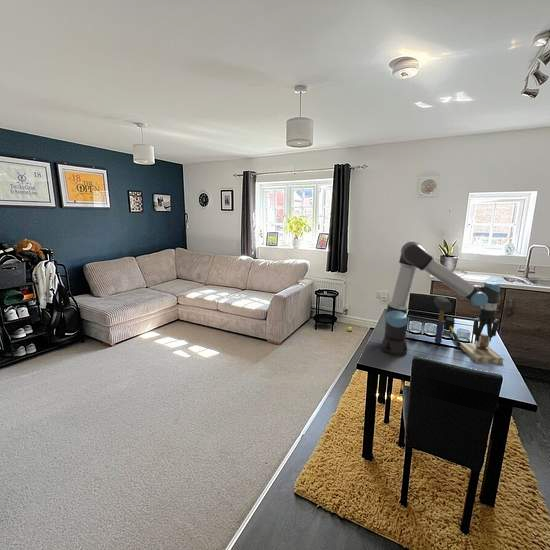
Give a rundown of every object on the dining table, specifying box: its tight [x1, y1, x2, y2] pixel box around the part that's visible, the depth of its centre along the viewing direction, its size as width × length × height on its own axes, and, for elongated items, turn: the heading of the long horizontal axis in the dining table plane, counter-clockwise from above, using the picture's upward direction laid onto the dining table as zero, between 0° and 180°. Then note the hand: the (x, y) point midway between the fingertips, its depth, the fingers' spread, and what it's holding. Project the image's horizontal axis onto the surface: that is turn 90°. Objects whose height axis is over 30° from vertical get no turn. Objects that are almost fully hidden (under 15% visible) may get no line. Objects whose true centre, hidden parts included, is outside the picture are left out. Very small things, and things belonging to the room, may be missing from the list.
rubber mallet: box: [433, 295, 453, 344], centre depth 187 cm, size 12×8×30 cm, turn 171°
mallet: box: [443, 316, 462, 347], centre depth 198 cm, size 29×6×10 cm, turn 164°
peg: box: [478, 333, 488, 350], centre depth 177 cm, size 4×4×10 cm
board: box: [459, 342, 504, 364], centre depth 175 cm, size 14×18×3 cm
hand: (481, 346), depth 177 cm, fingers closed on peg, 4 cm apart
